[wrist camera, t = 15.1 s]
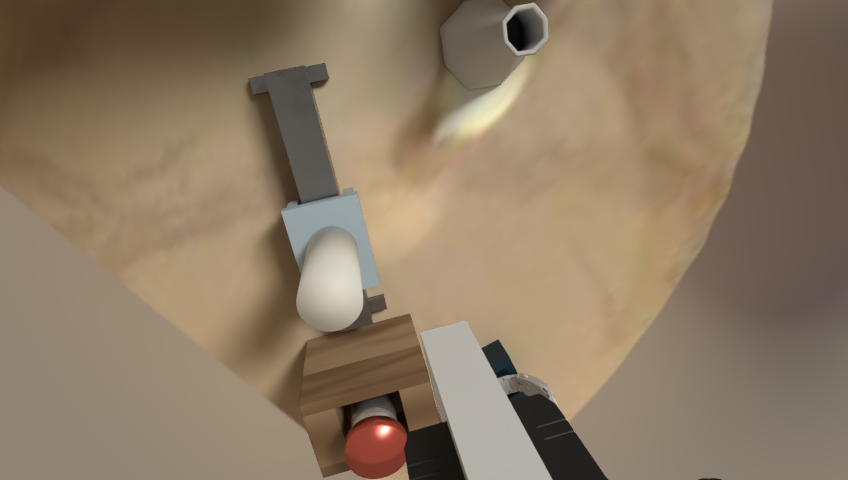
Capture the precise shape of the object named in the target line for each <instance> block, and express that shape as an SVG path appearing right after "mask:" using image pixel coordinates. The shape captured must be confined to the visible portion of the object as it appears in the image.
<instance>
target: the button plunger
mask: <svg viewBox="0 0 848 480" xmlns="http://www.w3.org/2000/svg"><path fill="white" fill-rule="evenodd" d="M406 440H407V435H406V431H405V429H404V427H403V426H402V424H401V423H400V422H398V421H397V416H396V410H395V405H394V399H393V394H392V393H388V394H384V395H381V396H377V397H374V398H370V399H366V400H363V401H359V402H355V403H352V404H351V429H350V430H349V432H348V434H347V436H346V439H345V459H346V463H347V465H348V467H349V468H350V469H351V470H352V471H353V472H354V473H355V474H357V475H358V476H361V477H364V478H368V479H378V478H384V477H387V476H389V475H391V474H393V473H395V472H396V471H398V470H399V469H400V468H401V467H402V466H403V465H404V463H405V462H406V458H405V452H404V446H405V443H406Z"/></svg>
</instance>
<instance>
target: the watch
mask: <svg viewBox="0 0 848 480" xmlns="http://www.w3.org/2000/svg"><path fill="white" fill-rule="evenodd" d="M481 349H482V351H483V353H484V355H485V357H486V358H487V360H488V362H489V364H490V366H491V368H492V369H493V371H494V373H495V375H496V377H497V379H498V381H499V382H500V384H501V386H502V388H503V390H504V392H505V393H506V395H507V397H508V399H509V401H514V400H517V399H521V398H524V397H528V396H532V395H535V394H539V393H540V394H541V395H543V396H544V397H546V398H548V399H549V400H551V401H552V402H554V403H555V404H556V405H557V402H556V400H555V397H554V395H553V393H552V391H551V389H550V387H549V386H548V384H546V383H545V382H543V381H542V380H540V379H538V378H536V377H533V376H531V375H527V374H523V373H517V371H516V369H515V367H514V365H513V364H512V362H511V360H510V358H509V356H508V354H507V352H506V351H505V349H504V348H503V346H502V345H501V343H500V341H499V340H496V341H494V342H493V343H491V344H489V345H487V346H485V347H483V348H481ZM557 407H558V405H557ZM558 408H559V407H558ZM559 410H560V409H559Z"/></svg>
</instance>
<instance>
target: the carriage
mask: <svg viewBox="0 0 848 480" xmlns="http://www.w3.org/2000/svg"><path fill="white" fill-rule="evenodd" d="M281 214H282V217H283V220H284V223H285V227H286V230H287V233H288V236H289V239H290V243H291V246H292V249H293V252H294V255H295V259H296V262H297V265H298V268H299V271H300V275H301V279H300V283H299V288H298V293H297V298H296V306H297V311H298V313H299V315H300V317H301V318H302V320H303V321H304V322H305V323H306V324H308V325H309V326H310V327H312V328H314V329H317V330H320V331H325V332H333V331H339V330H342V329H344V328H346V327H348V326H350V325H351V324H352V323H353V322H354V321H355V320H356V319H357V318H358V317H359V315H360V313H361V311H362V307H363V292H362V290H364V289H368V288H372V287H376V286H380V281H379V277H378V273H377V269H376V265H375V261H374V258H373V254H372V250H371V246H370V242H369V238H368V234H367V230H366V226H365V222H364V218H363V214H362V210H361V206H360V202H359V198H358V194H357V191H356V192H354V191H353V187H351V188H347V189H343V195H339V196H335V197H330V198H326V199H322V200H318V201H313V202H309V203H305V204H301V205H300V203H299V200H295V201H291V202H289V203H288V205H287V207H286V208H283V209H282V211H281Z"/></svg>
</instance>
